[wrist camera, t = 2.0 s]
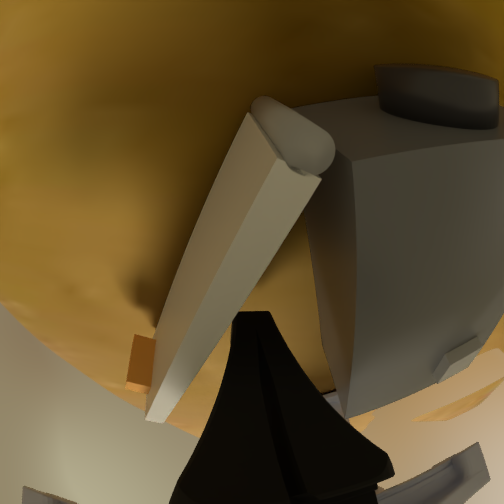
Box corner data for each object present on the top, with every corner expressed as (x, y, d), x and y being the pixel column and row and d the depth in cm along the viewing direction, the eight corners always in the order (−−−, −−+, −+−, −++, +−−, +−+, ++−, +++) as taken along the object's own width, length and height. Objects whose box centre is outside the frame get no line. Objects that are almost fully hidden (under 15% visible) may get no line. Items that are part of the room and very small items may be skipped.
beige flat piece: (168, 341, 13) (162, 423, 10) (134, 332, 13) (121, 414, 9) (282, 102, 7) (344, 141, 4) (226, 77, 7) (234, 86, 3)
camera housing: (434, 304, 15) (474, 372, 11) (322, 344, 16) (347, 429, 11) (463, 66, 7) (577, 107, 2) (274, 74, 7) (360, 90, 3)
